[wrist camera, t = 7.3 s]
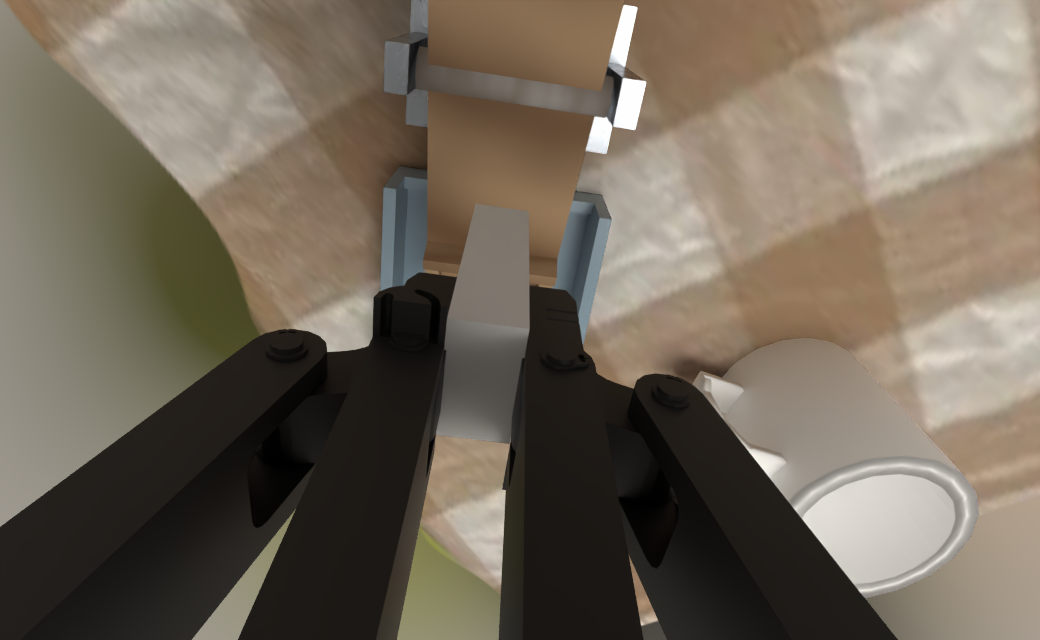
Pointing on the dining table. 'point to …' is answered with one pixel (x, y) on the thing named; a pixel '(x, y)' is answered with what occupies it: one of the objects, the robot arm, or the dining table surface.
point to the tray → (409, 239)
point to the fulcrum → (620, 115)
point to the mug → (847, 461)
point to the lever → (511, 116)
